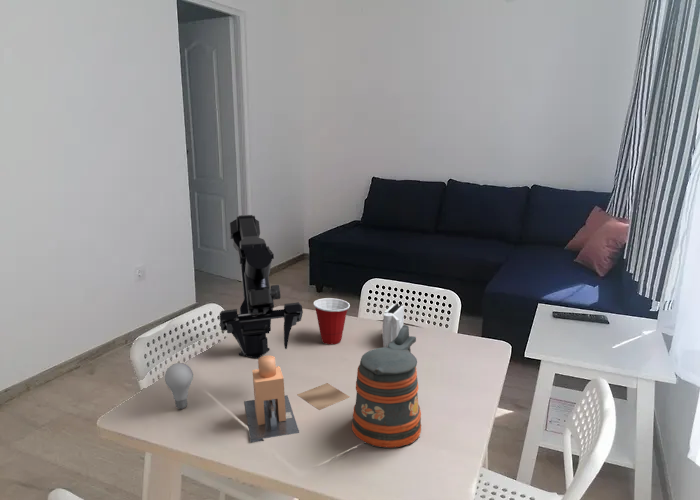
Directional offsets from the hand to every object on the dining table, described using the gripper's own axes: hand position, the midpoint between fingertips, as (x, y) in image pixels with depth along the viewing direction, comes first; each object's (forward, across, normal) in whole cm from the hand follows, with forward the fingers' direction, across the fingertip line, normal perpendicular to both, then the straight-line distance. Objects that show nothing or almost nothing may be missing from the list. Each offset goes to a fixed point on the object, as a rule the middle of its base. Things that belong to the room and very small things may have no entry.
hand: (265, 351), depth 118 cm
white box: (-7, +40, +28) cm, 49 cm away
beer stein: (+20, +24, -1) cm, 32 cm away
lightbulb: (+7, -20, +12) cm, 24 cm away
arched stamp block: (+13, 0, +5) cm, 14 cm away
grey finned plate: (+14, 0, +5) cm, 15 cm away
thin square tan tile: (+10, +13, +9) cm, 19 cm away
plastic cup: (-12, +22, +33) cm, 42 cm away
